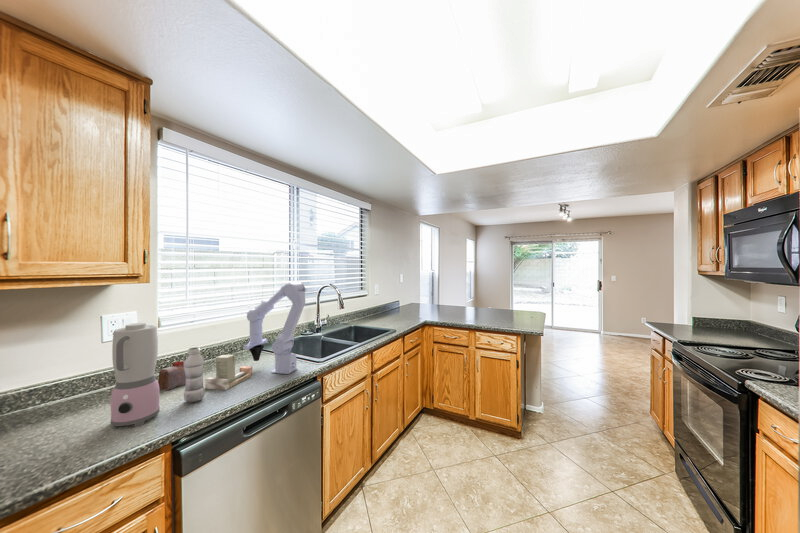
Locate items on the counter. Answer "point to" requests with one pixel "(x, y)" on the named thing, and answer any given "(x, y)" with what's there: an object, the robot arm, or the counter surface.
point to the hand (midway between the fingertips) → (256, 360)
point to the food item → (172, 376)
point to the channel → (223, 382)
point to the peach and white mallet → (244, 371)
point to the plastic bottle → (194, 376)
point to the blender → (134, 375)
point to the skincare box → (225, 367)
